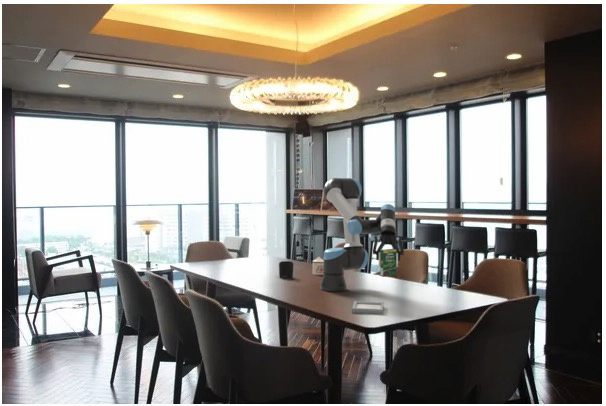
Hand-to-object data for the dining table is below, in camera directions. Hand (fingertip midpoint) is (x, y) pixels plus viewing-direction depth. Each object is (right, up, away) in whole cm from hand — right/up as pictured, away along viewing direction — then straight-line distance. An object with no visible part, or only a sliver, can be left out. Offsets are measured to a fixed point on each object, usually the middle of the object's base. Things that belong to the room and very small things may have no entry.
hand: (388, 265), depth 249 cm
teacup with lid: (-29, -19, +103) cm, 108 cm away
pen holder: (-52, -19, +86) cm, 103 cm away
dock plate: (-10, -20, -6) cm, 24 cm away
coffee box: (0, -6, +2) cm, 6 cm away
